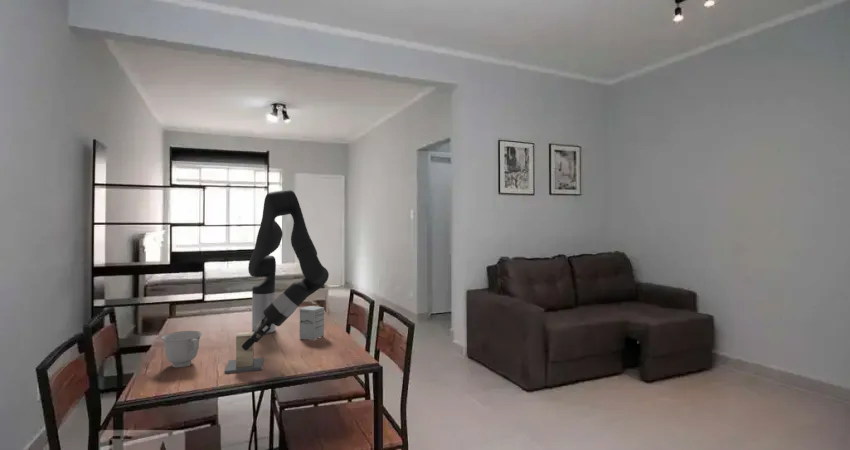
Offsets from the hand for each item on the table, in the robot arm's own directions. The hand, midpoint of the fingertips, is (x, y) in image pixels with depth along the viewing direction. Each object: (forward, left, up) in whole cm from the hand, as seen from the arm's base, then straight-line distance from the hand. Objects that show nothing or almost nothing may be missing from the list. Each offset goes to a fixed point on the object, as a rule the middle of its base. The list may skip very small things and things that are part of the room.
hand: (245, 345), depth 147 cm
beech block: (0, 0, -6) cm, 6 cm away
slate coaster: (0, 0, -7) cm, 7 cm away
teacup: (+4, -20, -7) cm, 22 cm away
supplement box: (-38, +5, -7) cm, 39 cm away
